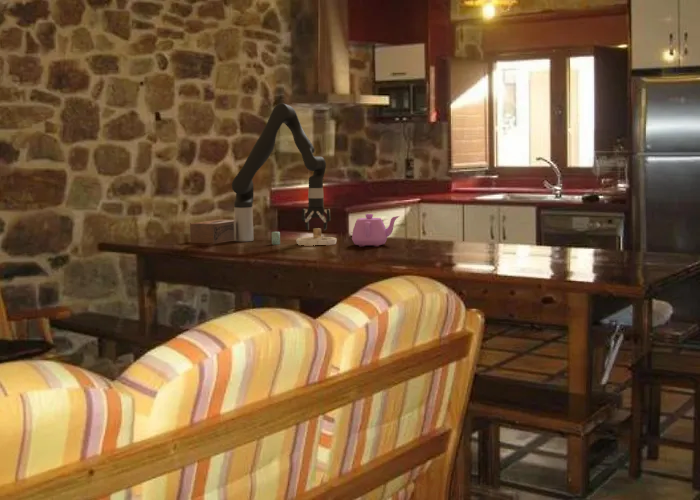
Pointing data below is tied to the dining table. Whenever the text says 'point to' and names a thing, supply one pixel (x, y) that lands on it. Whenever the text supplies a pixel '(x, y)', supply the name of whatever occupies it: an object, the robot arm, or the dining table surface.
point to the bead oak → (317, 233)
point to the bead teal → (275, 238)
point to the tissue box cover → (212, 231)
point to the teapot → (371, 231)
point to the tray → (316, 241)
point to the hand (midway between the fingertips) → (316, 230)
